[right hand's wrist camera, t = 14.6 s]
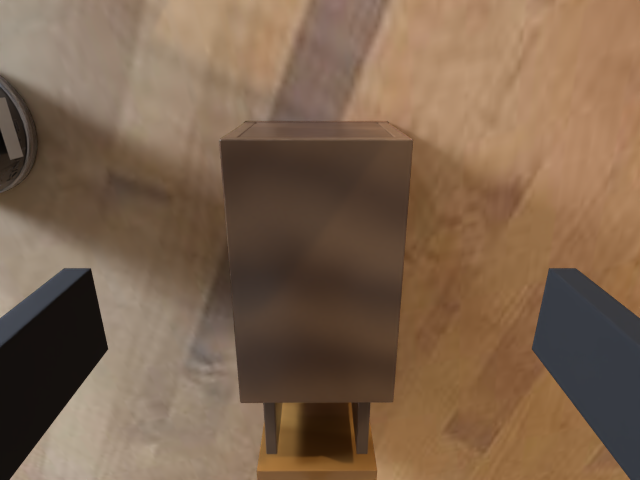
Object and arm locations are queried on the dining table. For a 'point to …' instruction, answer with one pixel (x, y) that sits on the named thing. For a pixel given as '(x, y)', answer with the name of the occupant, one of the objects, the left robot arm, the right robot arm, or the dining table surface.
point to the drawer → (317, 442)
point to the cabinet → (316, 257)
